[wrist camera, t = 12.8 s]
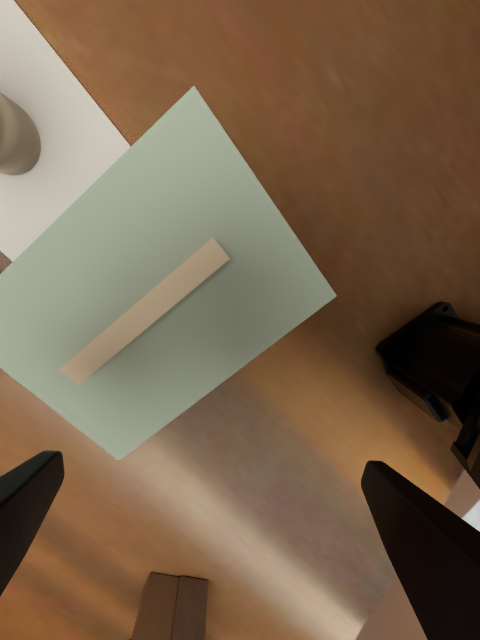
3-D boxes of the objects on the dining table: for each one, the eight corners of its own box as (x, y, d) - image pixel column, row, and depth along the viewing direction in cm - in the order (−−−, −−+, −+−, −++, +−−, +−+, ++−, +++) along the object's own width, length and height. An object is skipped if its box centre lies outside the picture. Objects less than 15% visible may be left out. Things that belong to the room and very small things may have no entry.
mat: (-14, -35, 12) (-20, -42, 12) (140, 158, 15) (139, 156, 15) (-138, 118, 14) (-146, 115, 13) (25, 269, 16) (21, 270, 16)
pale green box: (134, 43, 14) (59, -131, 7) (305, 284, 18) (347, 300, 12) (-118, 306, 16) (-322, 338, 10) (82, 457, 21) (23, 542, 15)
